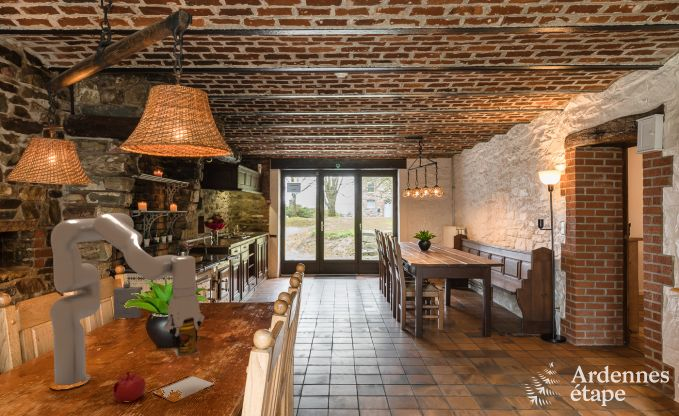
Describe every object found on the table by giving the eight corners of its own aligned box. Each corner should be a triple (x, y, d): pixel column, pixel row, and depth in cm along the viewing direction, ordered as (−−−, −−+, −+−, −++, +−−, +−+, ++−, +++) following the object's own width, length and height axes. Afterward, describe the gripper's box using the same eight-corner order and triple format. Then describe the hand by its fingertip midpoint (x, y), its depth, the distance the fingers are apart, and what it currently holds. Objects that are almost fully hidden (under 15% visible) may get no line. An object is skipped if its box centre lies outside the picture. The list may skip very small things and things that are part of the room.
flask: (111, 320, 238) (111, 284, 238) (116, 317, 244) (115, 283, 244) (138, 319, 239) (138, 284, 239) (142, 316, 245) (142, 282, 244)
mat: (152, 394, 142) (152, 392, 142) (192, 377, 155) (192, 376, 155) (174, 403, 135) (174, 401, 135) (214, 385, 148) (214, 383, 148)
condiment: (177, 357, 139) (177, 321, 139) (173, 350, 146) (172, 316, 146) (200, 353, 143) (199, 318, 143) (194, 346, 150) (194, 313, 150)
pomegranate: (150, 391, 144) (150, 364, 144) (137, 405, 134) (137, 376, 134) (121, 392, 144) (121, 365, 144) (106, 406, 134) (105, 377, 134)
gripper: (198, 286, 153) (199, 335, 153) (154, 295, 139) (155, 349, 139) (211, 288, 149) (212, 339, 149) (168, 298, 135) (169, 353, 135)
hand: (185, 343), depth 144 cm, fingers closed on condiment, 6 cm apart
